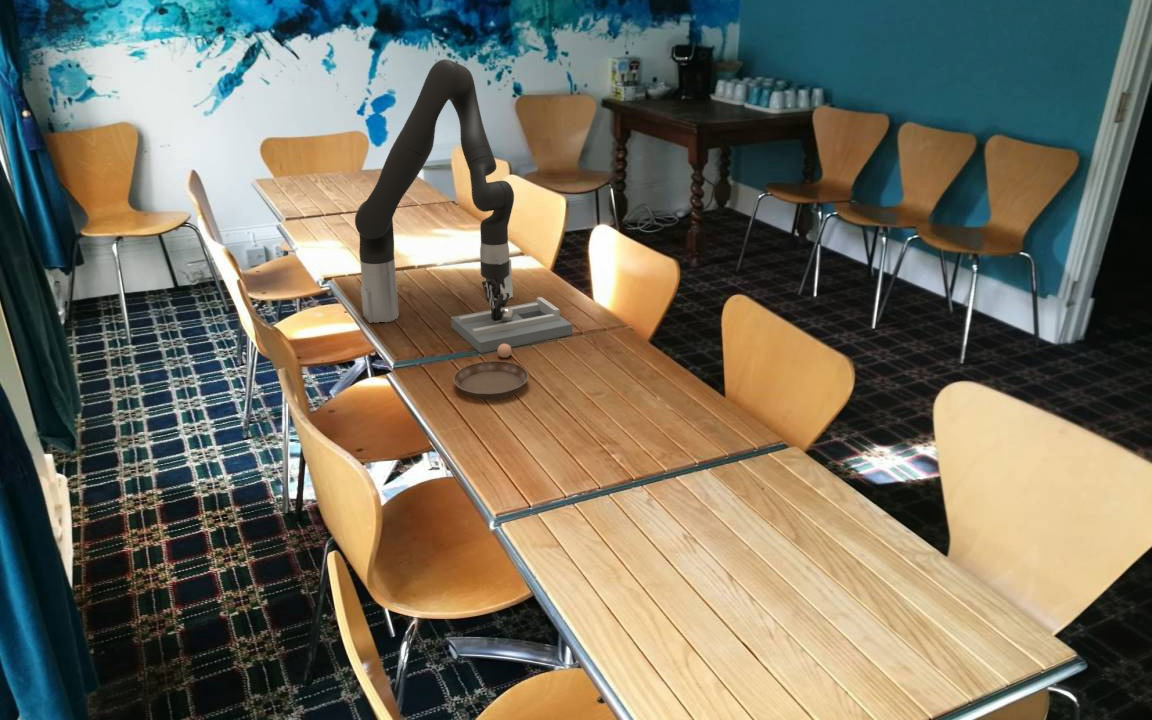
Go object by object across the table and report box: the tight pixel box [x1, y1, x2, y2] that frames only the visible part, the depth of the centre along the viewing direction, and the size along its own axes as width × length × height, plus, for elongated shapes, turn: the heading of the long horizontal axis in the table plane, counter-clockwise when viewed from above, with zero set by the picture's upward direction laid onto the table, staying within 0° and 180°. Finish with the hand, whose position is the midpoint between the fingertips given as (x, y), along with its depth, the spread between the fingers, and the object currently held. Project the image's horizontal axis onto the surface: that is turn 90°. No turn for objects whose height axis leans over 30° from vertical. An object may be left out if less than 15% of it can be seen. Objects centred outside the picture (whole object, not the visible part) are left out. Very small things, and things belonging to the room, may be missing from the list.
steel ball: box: [501, 306, 514, 322], centre depth 238 cm, size 4×4×4 cm
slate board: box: [450, 296, 573, 354], centre depth 240 cm, size 27×20×6 cm
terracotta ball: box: [496, 344, 513, 359], centre depth 224 cm, size 4×4×4 cm
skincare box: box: [504, 258, 514, 299], centre depth 263 cm, size 6×4×12 cm
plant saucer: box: [452, 360, 529, 401], centre depth 209 cm, size 18×18×3 cm
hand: (496, 319), depth 237 cm, fingers closed
